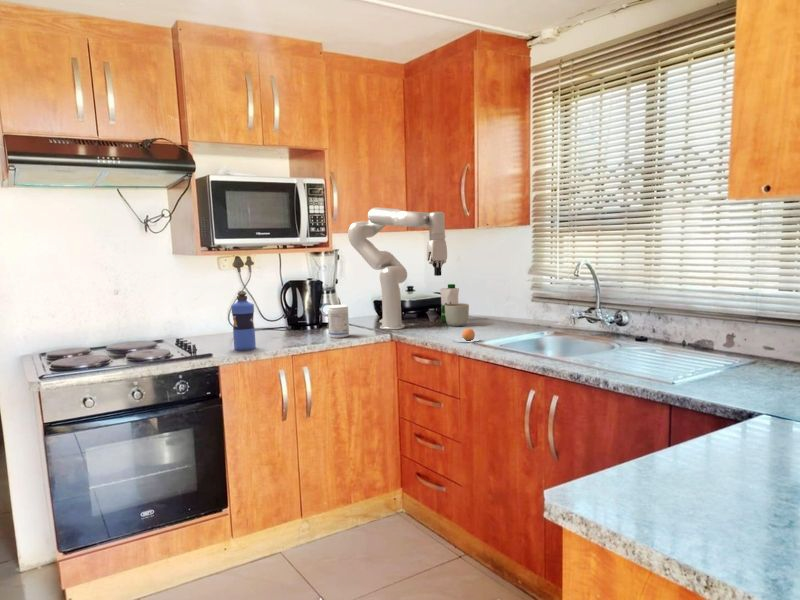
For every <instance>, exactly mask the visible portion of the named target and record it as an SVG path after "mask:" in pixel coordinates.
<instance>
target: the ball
mask: <svg viewBox="0 0 800 600" xmlns="http://www.w3.org/2000/svg"><path fill="white" fill-rule="evenodd" d="M461 336H462V337H461V338H464V339H465V340H466V341H471V340H473V339H474V338H476V333H475V331H474V330H473V329H471V328H465V329H464V330H462V333H461Z"/></svg>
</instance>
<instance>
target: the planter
mask: <svg viewBox="0 0 800 600" xmlns="http://www.w3.org/2000/svg"><path fill="white" fill-rule="evenodd" d="M469 311H470V305H469V303H463V302H462V303H459V302H458V303H453V304H446V305H445V316H446V322H445V323H446V324H448V325H449V326H451V327H464V326H465V325H467V324H468V321H469ZM463 325H464V326H463Z"/></svg>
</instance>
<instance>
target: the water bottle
mask: <svg viewBox="0 0 800 600" xmlns="http://www.w3.org/2000/svg"><path fill="white" fill-rule="evenodd" d="M236 300H237V301H236V302H235V303H233V304H231V307H230V309H231V314H232V315H231V316H232V320H233V327H232V328H233V329H232V330H233V331H232V335H233V350H234V351H239V352H240V351H242V352H243V351H252V350H255V349H256V347H257V346H256V345H257V343H256V330H255V329H256V328H255V324H254V323H255V322H254V315H255V314H254V313H255V305H254V303H252V302H250V301H248V295H247V292H246V291H244V290H240V291H238V292H237V296H236Z"/></svg>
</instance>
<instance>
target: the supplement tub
mask: <svg viewBox="0 0 800 600" xmlns="http://www.w3.org/2000/svg"><path fill="white" fill-rule="evenodd" d="M327 316H328V317H327V318H328V336H329V337H330V338H332V339H334V338H335V339H340V338H341V339H342V338H346V337H348V336H349V335H350V330H349V329H350V326H349V306H348V305H347V304H333V305H328V307H327Z"/></svg>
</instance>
